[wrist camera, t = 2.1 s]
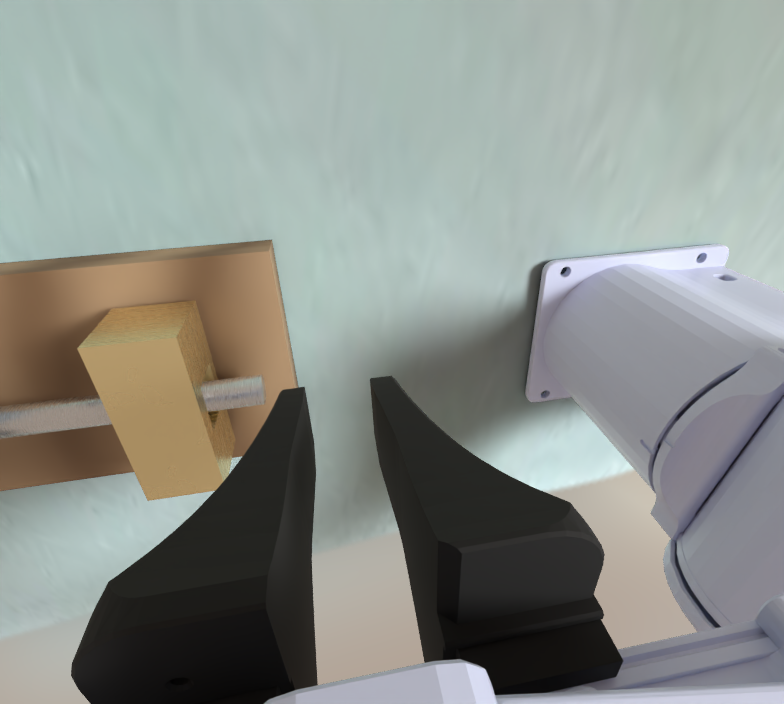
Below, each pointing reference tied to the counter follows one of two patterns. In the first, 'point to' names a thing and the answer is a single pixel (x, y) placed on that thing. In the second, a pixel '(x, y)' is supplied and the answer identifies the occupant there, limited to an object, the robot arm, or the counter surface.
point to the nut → (161, 397)
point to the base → (88, 308)
